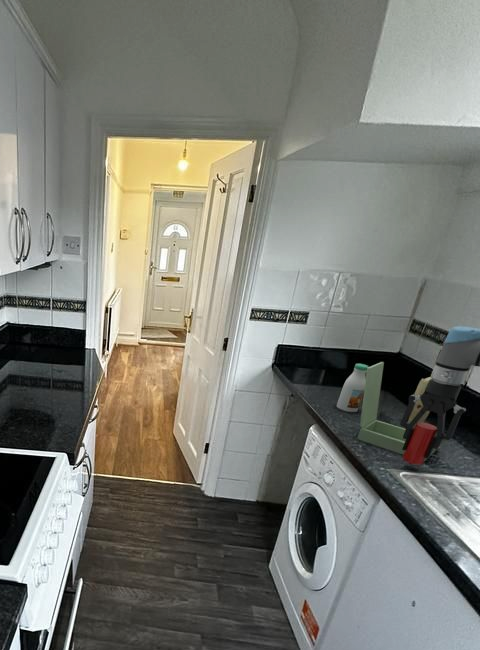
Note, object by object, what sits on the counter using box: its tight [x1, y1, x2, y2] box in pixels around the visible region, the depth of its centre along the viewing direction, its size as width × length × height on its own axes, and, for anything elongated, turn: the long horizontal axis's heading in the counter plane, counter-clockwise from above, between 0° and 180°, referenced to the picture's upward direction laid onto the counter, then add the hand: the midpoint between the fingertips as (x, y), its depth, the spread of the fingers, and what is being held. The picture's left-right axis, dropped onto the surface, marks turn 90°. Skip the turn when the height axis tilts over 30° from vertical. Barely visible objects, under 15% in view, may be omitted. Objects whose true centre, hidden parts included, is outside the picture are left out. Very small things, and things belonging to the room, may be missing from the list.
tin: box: [402, 422, 437, 466], centre depth 126 cm, size 5×5×12 cm
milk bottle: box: [336, 363, 369, 413], centre depth 168 cm, size 8×8×20 cm
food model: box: [407, 376, 432, 429], centre depth 156 cm, size 10×7×20 cm
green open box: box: [356, 419, 437, 463], centre depth 142 cm, size 20×14×5 cm
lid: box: [359, 361, 385, 428], centre depth 145 cm, size 21×14×1 cm
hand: (415, 452), depth 128 cm, fingers closed on tin, 5 cm apart
